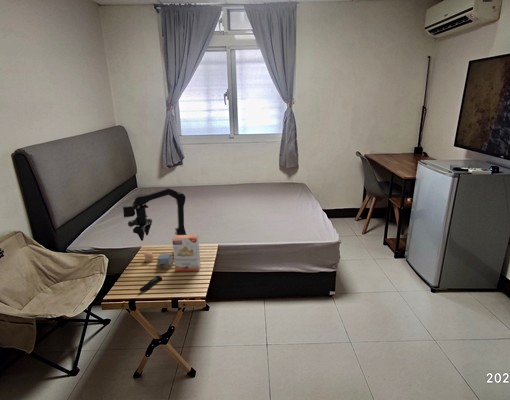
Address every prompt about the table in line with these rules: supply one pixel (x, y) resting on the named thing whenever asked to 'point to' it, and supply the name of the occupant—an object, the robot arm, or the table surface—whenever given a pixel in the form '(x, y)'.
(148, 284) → the electric trimmer
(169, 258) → the tower middle
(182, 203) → the robot arm
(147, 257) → the terracotta cylinder
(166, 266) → the tower base
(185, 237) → the cracker box
